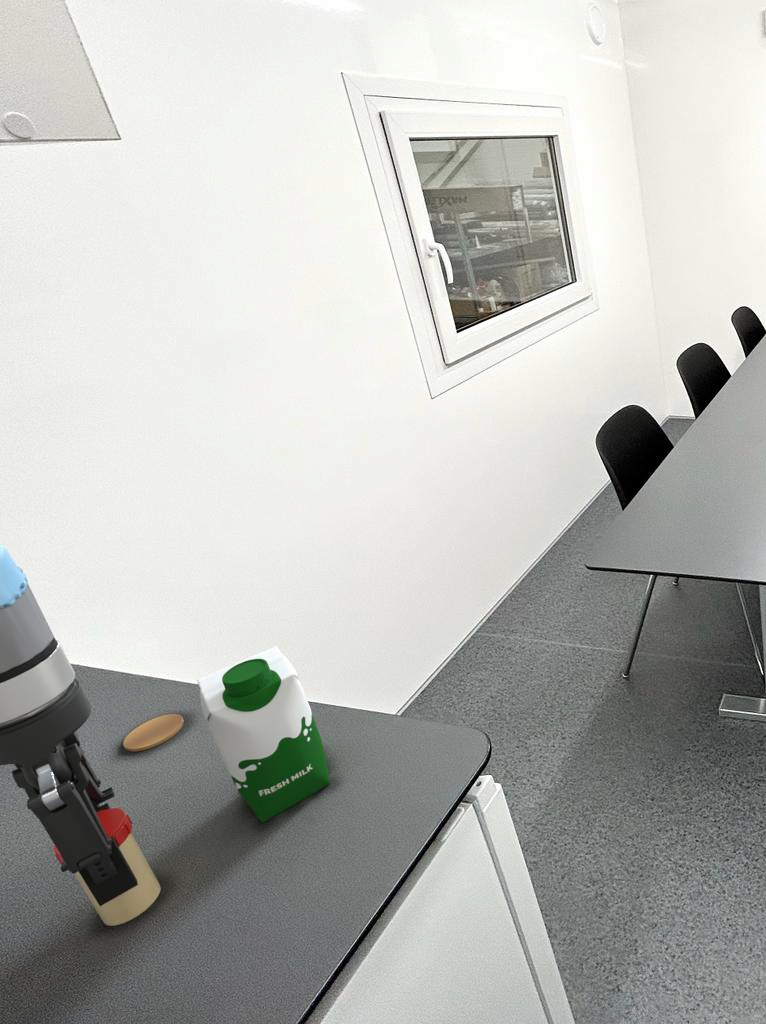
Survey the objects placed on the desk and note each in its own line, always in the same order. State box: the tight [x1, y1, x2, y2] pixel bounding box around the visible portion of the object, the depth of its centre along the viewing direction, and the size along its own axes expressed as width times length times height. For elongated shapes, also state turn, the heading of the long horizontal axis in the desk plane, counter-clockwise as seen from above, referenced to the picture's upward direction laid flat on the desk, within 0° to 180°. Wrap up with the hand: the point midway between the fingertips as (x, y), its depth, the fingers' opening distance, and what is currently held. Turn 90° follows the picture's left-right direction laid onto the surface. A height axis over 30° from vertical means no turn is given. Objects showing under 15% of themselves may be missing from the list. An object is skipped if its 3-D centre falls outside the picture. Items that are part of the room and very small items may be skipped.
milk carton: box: [196, 645, 331, 824], centre depth 76 cm, size 9×9×20 cm
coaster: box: [122, 713, 185, 753], centre depth 87 cm, size 6×6×1 cm
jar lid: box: [53, 807, 133, 865], centre depth 63 cm, size 5×5×2 cm
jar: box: [73, 831, 162, 927], centre depth 65 cm, size 4×4×11 cm
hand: (115, 874), depth 65 cm, fingers closed on jar lid, 5 cm apart
